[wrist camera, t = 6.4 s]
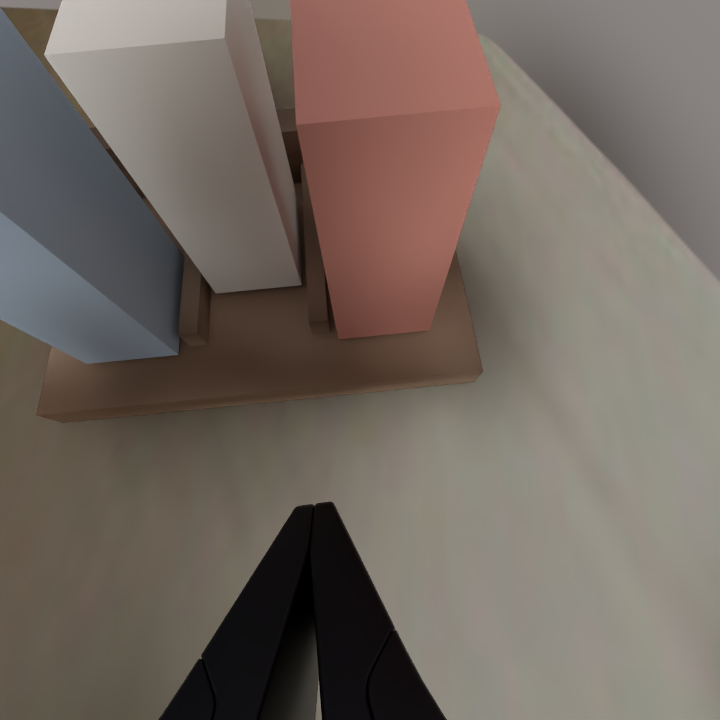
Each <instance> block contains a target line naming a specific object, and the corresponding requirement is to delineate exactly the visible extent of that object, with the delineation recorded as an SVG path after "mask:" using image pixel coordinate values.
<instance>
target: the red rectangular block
mask: <svg viewBox="0 0 720 720" xmlns="http://www.w3.org/2000/svg"><path fill="white" fill-rule="evenodd" d="M290 5H291V27H292V48H293V70H294V92H295V113H296V127H297V132H298V137H299V142H300V147H301V152H302V157H303V163H304V168H305V173H306V178H307V183H308V188H309V193H310V198H311V203H312V208H313V213H314V218H315V223H316V228H317V233H318V238H319V243H320V248H321V253H322V259H323V264H324V269H325V274H326V279H327V284H328V289H329V294H330V299H331V304H332V309H333V314H334V319H335V324H336V329H337V334H338V339H348V338H358V337H368V336H379V335H389V334H399V333H409V332H419V331H429V330H430V328H431V325H432V321H433V318H434V315H435V312H436V309H437V306H438V302H439V299H440V296H441V293H442V290H443V287H444V284H445V280H446V277H447V274H448V271H449V268H450V265H451V261H452V258H453V255H454V252H455V249H456V246H457V242H458V239H459V236H460V233H461V230H462V227H463V223H464V220H465V217H466V214H467V211H468V208H469V205H470V201H471V198H472V195H473V192H474V189H475V186H476V182H477V179H478V176H479V173H480V170H481V167H482V163H483V160H484V157H485V154H486V151H487V148H488V144H489V141H490V138H491V135H492V132H493V129H494V126H495V122H496V119H497V116H498V113H499V110H500V107H501V104H500V101H499V98H498V95H497V92H496V89H495V86H494V83H493V81H492V78H491V75H490V72H489V69H488V66H487V63H486V60H485V57H484V54H483V51H482V48H481V45H480V42H479V39H478V36H477V33H476V30H475V27H474V24H473V21H472V18H471V15H470V12H469V9H468V6H467V3H466V0H290Z"/></svg>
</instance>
